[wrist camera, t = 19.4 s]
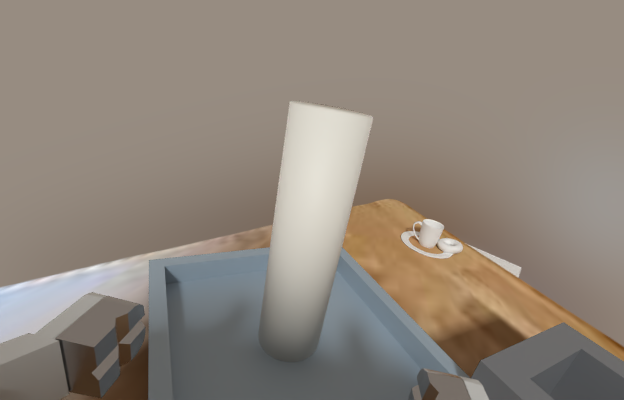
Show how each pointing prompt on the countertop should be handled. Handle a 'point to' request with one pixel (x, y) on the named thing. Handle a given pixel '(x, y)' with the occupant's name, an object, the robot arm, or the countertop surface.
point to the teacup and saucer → (447, 244)
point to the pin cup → (552, 369)
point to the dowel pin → (309, 224)
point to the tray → (250, 355)
